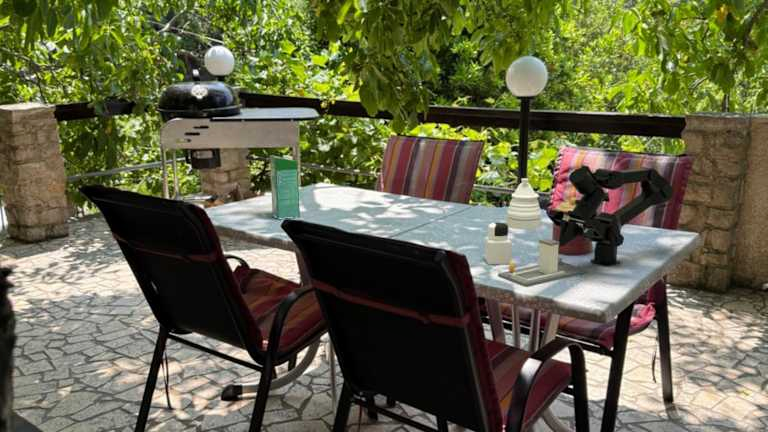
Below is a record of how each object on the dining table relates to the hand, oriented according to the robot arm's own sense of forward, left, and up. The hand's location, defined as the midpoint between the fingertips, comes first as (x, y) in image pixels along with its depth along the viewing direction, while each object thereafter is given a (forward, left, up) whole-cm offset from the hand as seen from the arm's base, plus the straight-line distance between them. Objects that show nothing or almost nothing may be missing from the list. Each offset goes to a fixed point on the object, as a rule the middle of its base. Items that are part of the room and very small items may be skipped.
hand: (560, 245), depth 213 cm
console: (+4, -2, -8) cm, 10 cm away
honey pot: (-33, -51, -9) cm, 61 cm away
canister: (-22, -16, -9) cm, 28 cm away
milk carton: (+34, -117, -9) cm, 122 cm away
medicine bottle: (+6, -20, -9) cm, 23 cm away
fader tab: (+4, 0, -8) cm, 10 cm away
